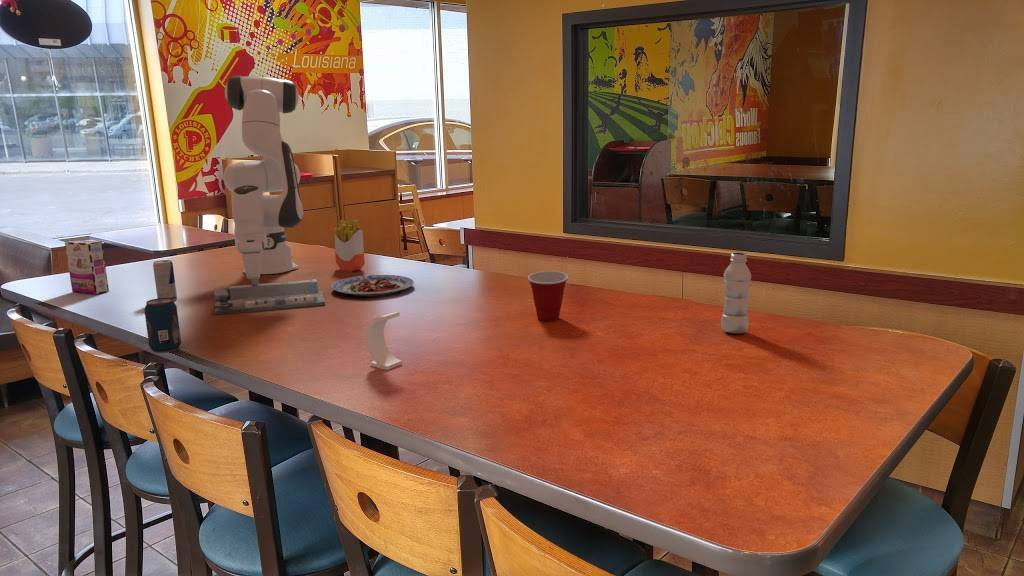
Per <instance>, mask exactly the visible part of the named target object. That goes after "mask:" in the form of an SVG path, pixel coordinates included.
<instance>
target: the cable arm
mask: <svg viewBox="0 0 1024 576" xmlns="http://www.w3.org/2000/svg"><path fill="white" fill-rule="evenodd" d="M318 287H319V286H318V279H305V280H295V281H294V280H293V281H282V282H281V281H280V282H279V281H278V282H269V283H268V282H267V283H259V284H253V285H252V284H243V285H232V286H231V285H229V286H228V285H222V286H217V287H214V288H213V293H214V300H215V302H216V303H217V302H223V301H229V300H241V299H253V298H265V297H277V296H289V295H301V294H316V293H318V291H319V289H318Z"/></svg>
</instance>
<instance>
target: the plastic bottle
mask: <svg viewBox="0 0 1024 576" xmlns="http://www.w3.org/2000/svg"><path fill="white" fill-rule="evenodd" d="M747 255H748V254H747V253H746V252H739V251H738V252H731V253H730V259H729V261H730V263H729V265H727V267H726V268H725V270H724V272H723V285H724V302H723V304H724V305H723V311H722V315H721V320H720V324H721V329H722V330H723V331H724V332H726V333H729V334H736V335H737V334H743V333H746V332H747V330H748V327H749V324H750V321H749V316H748V296H749V289H750V284H751V279H752V273H751V270H750V269H749V267H748V266H747V264H746V263H747V262H748V259H747V258H748V257H747Z"/></svg>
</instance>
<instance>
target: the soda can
mask: <svg viewBox="0 0 1024 576" xmlns="http://www.w3.org/2000/svg"><path fill="white" fill-rule="evenodd" d="M145 303H146V304H145V307H144V309H143V310H144V317H145V324H146V325H145V326H146V332H147V334H146V335H147V340H148V347H149V348H150V349H151V351H152V352H153V353H155V354H165V353H166V354H167V353H171V352H174V351H177V350H179V348H180V346H181V345H182V337H181V330H180V322H179V315H178V308H177V307H178V306H177V304H176V303H175V301H173V299H172V298H158V299H157V298H153V299H149V300H147V301H145Z"/></svg>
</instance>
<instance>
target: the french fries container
mask: <svg viewBox="0 0 1024 576" xmlns="http://www.w3.org/2000/svg"><path fill="white" fill-rule="evenodd" d="M333 229H334V255H335V263H336V265H337V266H338V267H339V269H340V270H341V271H345V272H349V273H352V272H356V271H360V270H361V269H362V268H363V267H364V265H365V249H364V231H363V229H362V226H360V222H359V220H358V219H355V220H354V219H351V220H350V219H349V218H347V219H345V220H343V219H341V220H339V227H334V228H333Z"/></svg>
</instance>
